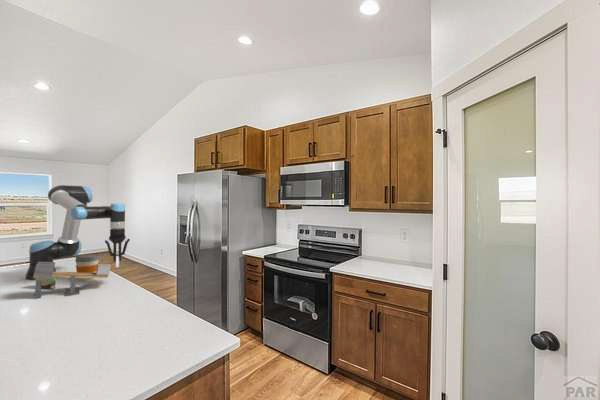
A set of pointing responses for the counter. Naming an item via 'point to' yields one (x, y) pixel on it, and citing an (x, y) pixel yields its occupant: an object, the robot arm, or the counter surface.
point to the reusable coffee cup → (87, 264)
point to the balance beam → (47, 272)
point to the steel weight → (103, 269)
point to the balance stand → (69, 291)
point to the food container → (47, 282)
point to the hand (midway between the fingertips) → (117, 266)
